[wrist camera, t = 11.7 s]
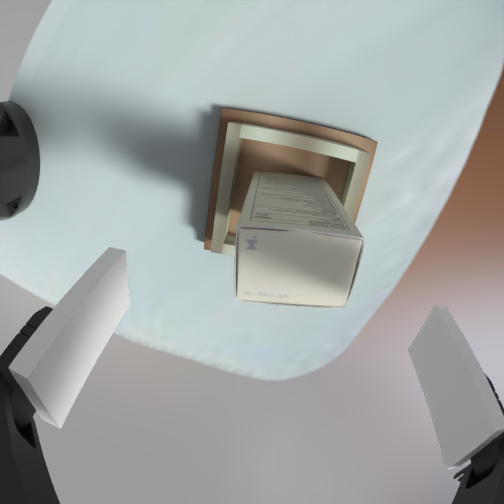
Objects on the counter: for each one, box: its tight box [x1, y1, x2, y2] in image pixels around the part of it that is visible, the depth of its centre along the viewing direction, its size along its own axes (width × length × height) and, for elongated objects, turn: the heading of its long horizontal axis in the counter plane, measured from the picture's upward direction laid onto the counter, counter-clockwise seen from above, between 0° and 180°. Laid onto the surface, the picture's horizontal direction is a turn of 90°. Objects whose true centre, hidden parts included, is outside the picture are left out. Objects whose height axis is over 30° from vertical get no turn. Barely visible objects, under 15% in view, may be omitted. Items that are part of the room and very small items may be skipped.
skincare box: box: [234, 171, 365, 309], centre depth 20 cm, size 6×4×12 cm
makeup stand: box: [204, 108, 378, 256], centre depth 25 cm, size 13×13×3 cm
